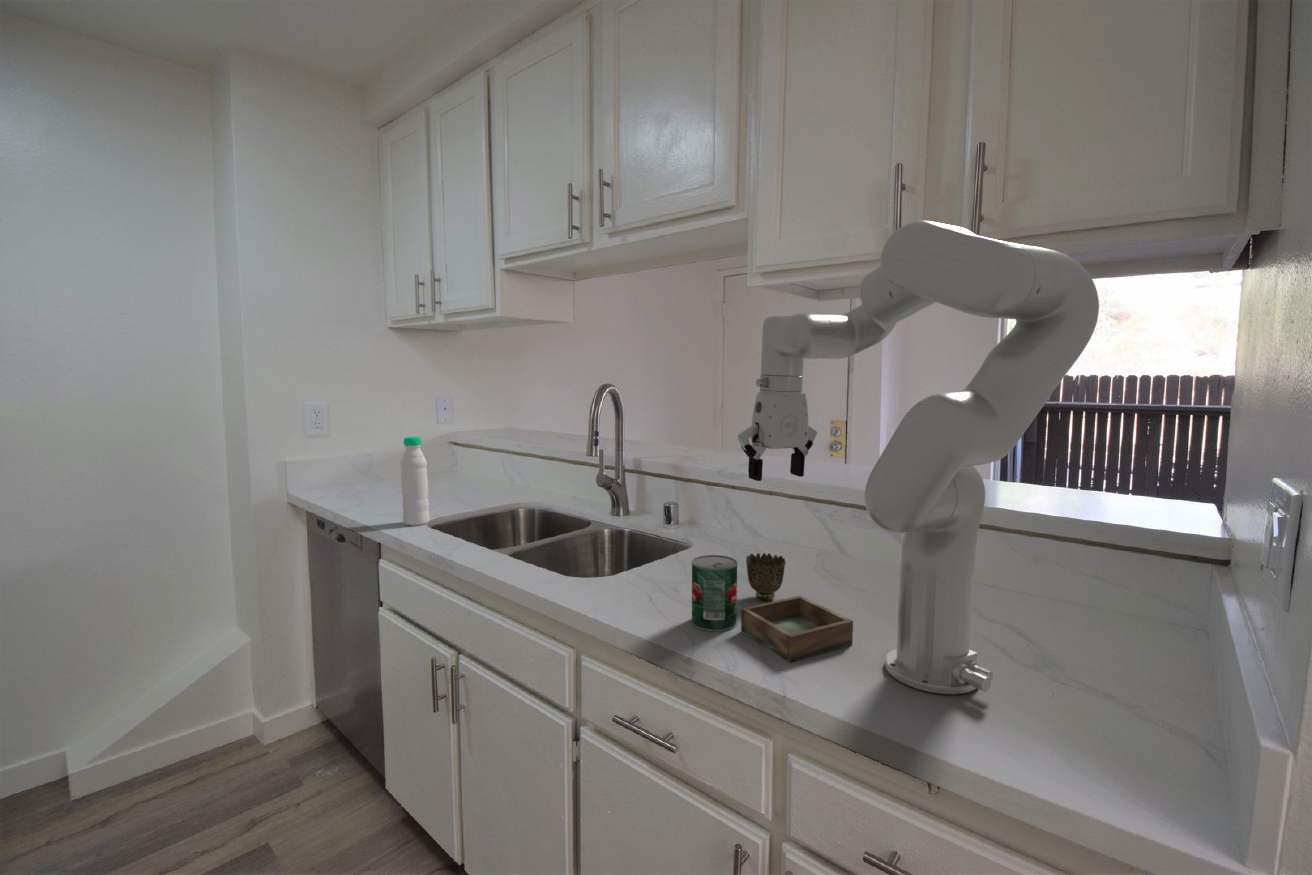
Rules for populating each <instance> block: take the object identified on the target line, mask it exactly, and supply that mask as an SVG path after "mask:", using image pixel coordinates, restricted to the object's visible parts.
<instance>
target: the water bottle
mask: <svg viewBox="0 0 1312 875" xmlns="http://www.w3.org/2000/svg"><path fill="white" fill-rule="evenodd" d="M422 442H423V440H422V437H420V436H407V437H405V438H404V439H403V445H404V448H405V451H404V453H403V456H402V458H401V460H400V467H401V473H400V474H401V476H400V480H401V481H400V482H401V493H402V510H403V514H402V515H403V516H402V518H403V519H402V520H403V522H402V523H403V525H404V526H408V525H409V526H411V527H415V526H416V527H417V526H422V525H426V524H428V523H429V522H430V520H431V519H430V518H431V517H430V510H429V505H430V503H429V502H430V501H429V483H428V481H429V479H428V471H427V470H428V469H427V468H428V467H427V464H428V460H427V458H426V456H424V453H423V451H422V450H421V447H422V444H423V443H422Z"/></svg>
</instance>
